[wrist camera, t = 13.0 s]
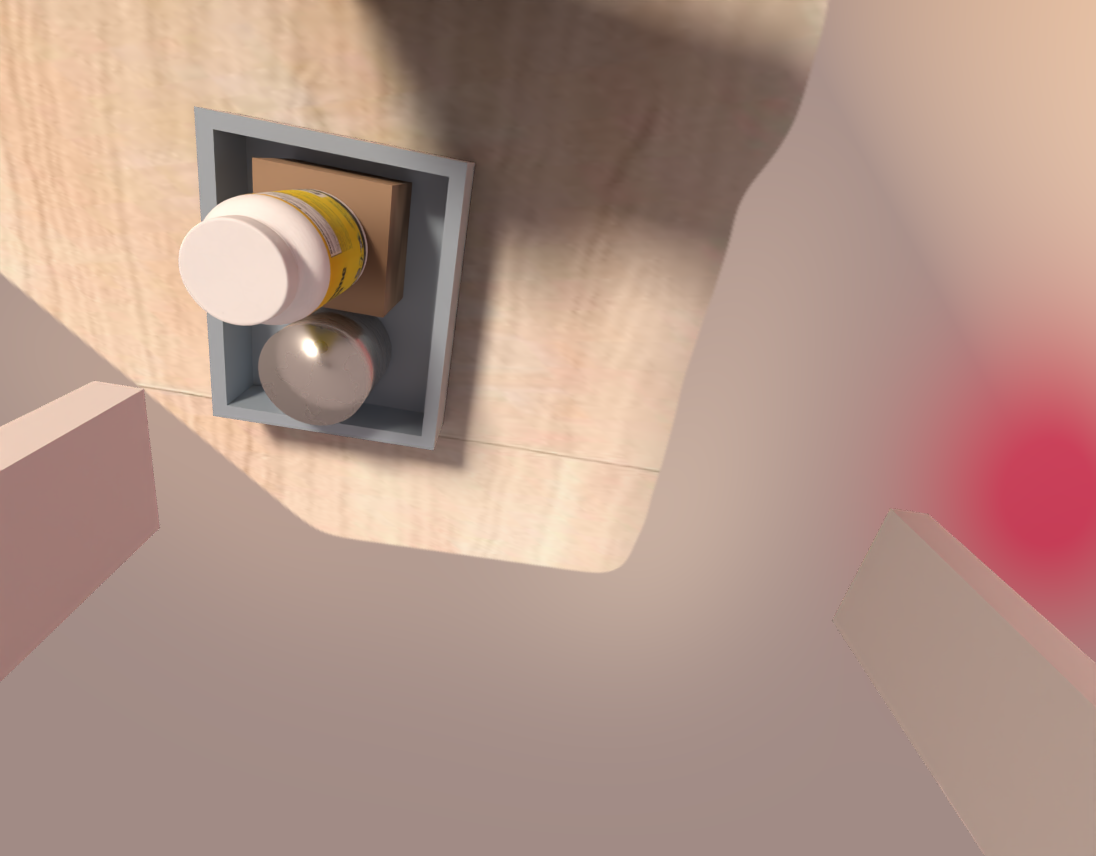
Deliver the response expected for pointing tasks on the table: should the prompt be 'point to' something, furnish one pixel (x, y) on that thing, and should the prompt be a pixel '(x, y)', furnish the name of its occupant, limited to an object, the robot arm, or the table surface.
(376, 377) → the metal tin
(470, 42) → the table surface
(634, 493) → the table surface
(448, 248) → the crate
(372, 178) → the walnut block
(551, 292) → the table surface
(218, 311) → the pill bottle
